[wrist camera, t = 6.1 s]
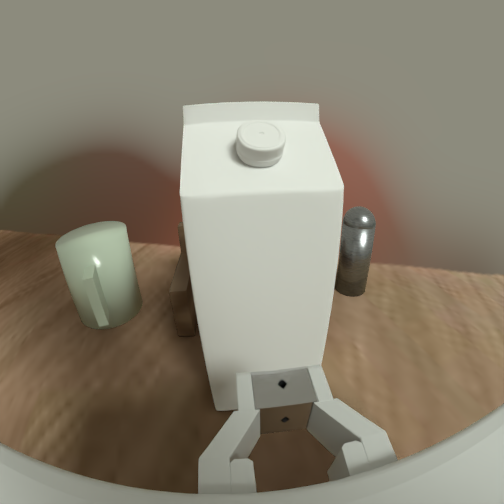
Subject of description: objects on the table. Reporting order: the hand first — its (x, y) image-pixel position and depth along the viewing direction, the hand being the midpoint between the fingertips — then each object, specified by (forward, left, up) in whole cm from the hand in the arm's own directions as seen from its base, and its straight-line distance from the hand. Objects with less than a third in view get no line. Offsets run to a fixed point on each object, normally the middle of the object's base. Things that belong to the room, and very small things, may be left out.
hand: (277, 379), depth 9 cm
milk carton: (0, +8, -10) cm, 13 cm away
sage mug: (-15, +17, -9) cm, 25 cm away
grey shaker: (+12, +19, -9) cm, 25 cm away
